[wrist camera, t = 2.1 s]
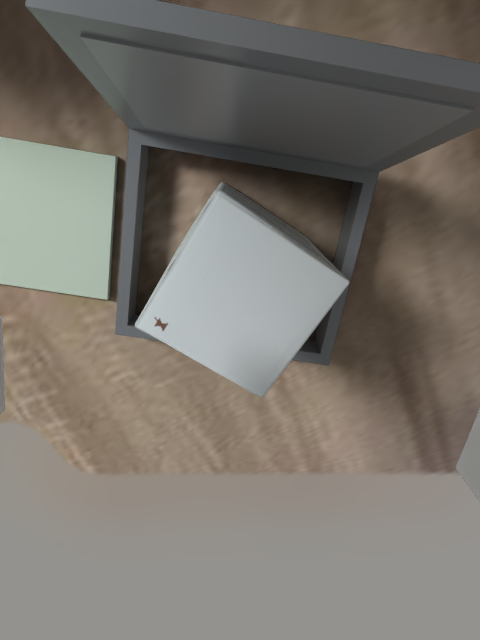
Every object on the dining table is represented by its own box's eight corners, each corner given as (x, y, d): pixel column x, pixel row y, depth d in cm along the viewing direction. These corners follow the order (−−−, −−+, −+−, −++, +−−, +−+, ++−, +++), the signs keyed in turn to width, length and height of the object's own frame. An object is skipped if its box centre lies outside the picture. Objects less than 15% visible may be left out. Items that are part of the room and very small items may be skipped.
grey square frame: (123, 321, 33) (115, 334, 30) (138, 130, 28) (129, 128, 26) (322, 351, 34) (328, 365, 31) (367, 171, 29) (378, 172, 27)
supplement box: (252, 317, 33) (260, 405, 21) (168, 264, 31) (126, 327, 19) (310, 236, 31) (356, 283, 19) (223, 176, 29) (214, 186, 17)
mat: (-27, 276, 31) (-32, 278, 31) (-36, 130, 28) (-41, 129, 27) (109, 297, 32) (107, 299, 31) (117, 156, 29) (115, 156, 28)
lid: (24, 9, 12) (27, -25, 12) (128, 129, 26) (130, 114, 26) (532, 106, 13) (540, 75, 13) (378, 173, 27) (381, 158, 27)
